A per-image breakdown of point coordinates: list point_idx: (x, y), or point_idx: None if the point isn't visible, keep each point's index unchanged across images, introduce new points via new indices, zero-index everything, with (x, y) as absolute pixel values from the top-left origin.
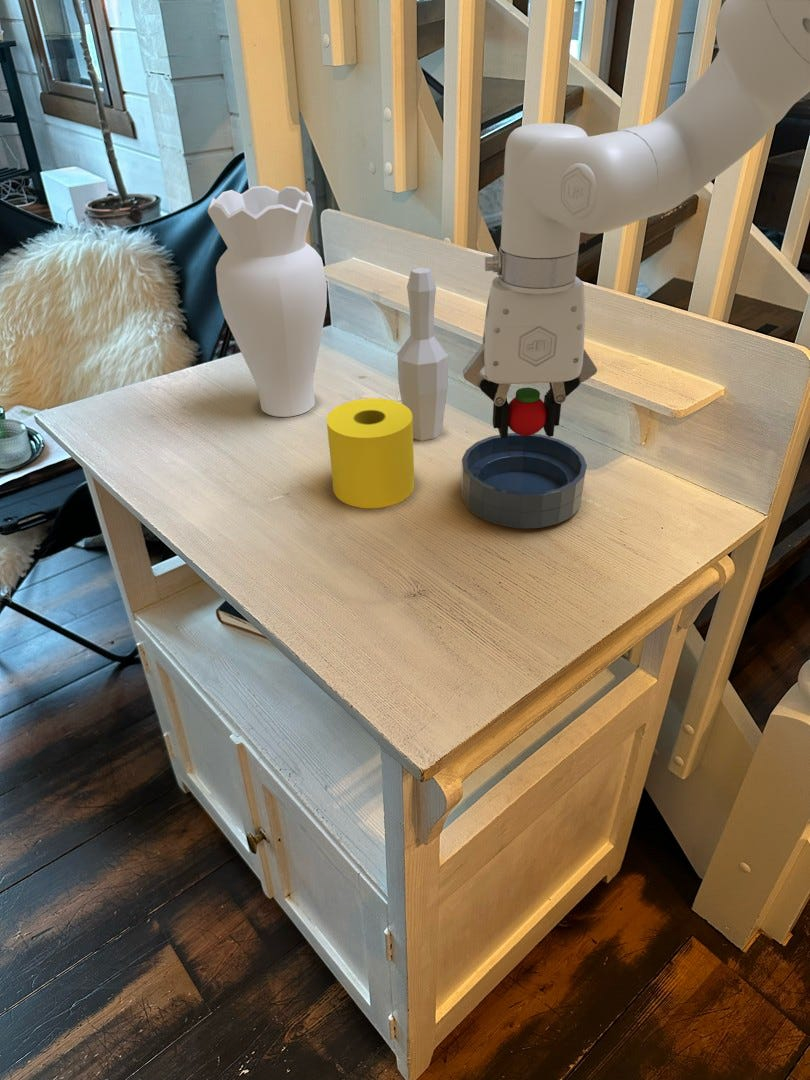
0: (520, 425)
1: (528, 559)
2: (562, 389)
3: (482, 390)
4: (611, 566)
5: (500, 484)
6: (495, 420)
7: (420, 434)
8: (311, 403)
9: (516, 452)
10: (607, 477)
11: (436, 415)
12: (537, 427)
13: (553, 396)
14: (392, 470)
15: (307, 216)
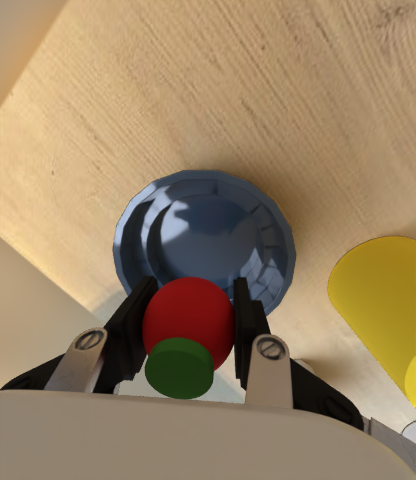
0: (208, 285)
1: (215, 107)
2: (64, 366)
3: (340, 395)
4: (112, 87)
5: (227, 267)
6: (263, 310)
7: (304, 366)
8: (413, 433)
9: None
10: (108, 275)
11: None
12: (170, 282)
13: (108, 352)
14: (408, 264)
15: None
